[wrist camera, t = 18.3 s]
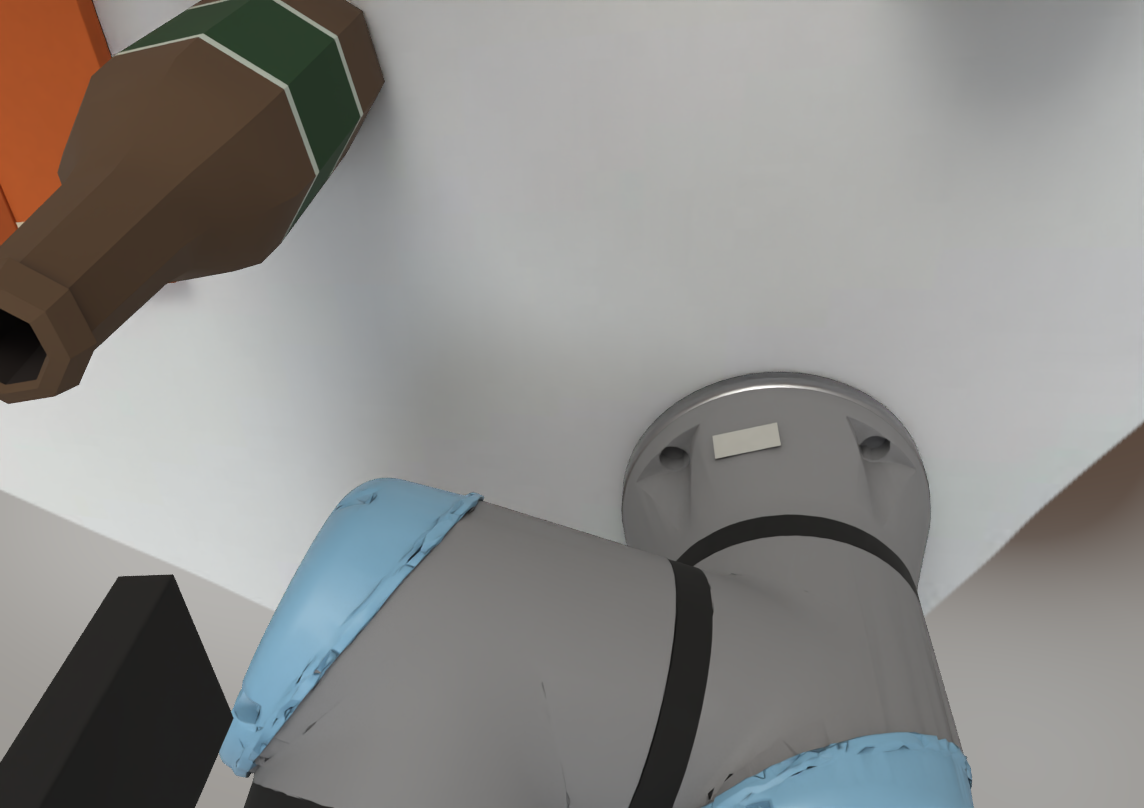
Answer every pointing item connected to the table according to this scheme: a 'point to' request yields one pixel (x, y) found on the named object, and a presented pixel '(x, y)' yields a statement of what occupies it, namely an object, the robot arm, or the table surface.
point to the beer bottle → (181, 172)
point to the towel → (41, 96)
